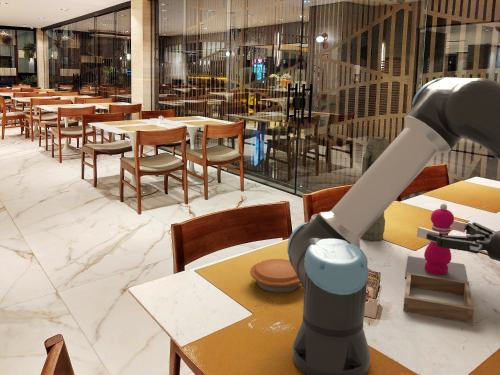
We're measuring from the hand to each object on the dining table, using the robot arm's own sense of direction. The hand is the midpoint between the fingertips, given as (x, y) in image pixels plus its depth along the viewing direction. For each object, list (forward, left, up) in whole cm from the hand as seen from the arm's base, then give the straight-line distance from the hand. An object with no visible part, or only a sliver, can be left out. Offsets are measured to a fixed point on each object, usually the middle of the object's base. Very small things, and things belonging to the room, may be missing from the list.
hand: (430, 226), depth 128 cm
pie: (-25, +37, -13) cm, 47 cm away
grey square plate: (-1, -3, -13) cm, 13 cm away
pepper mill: (-2, -3, -13) cm, 13 cm away
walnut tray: (-20, -3, -13) cm, 24 cm away
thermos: (+21, +18, -13) cm, 31 cm away
